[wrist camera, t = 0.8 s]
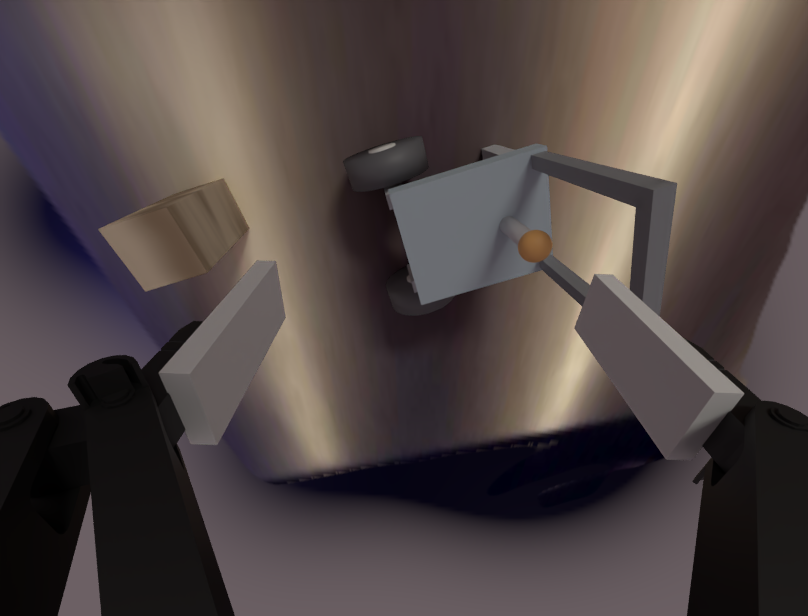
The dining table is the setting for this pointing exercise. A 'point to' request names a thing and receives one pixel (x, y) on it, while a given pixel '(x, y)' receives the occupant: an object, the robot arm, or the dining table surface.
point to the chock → (178, 235)
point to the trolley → (501, 220)
